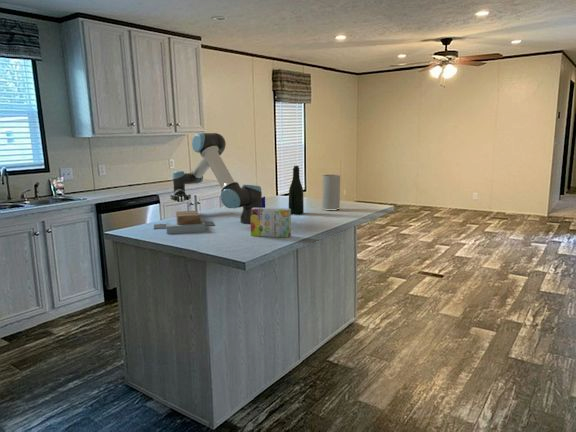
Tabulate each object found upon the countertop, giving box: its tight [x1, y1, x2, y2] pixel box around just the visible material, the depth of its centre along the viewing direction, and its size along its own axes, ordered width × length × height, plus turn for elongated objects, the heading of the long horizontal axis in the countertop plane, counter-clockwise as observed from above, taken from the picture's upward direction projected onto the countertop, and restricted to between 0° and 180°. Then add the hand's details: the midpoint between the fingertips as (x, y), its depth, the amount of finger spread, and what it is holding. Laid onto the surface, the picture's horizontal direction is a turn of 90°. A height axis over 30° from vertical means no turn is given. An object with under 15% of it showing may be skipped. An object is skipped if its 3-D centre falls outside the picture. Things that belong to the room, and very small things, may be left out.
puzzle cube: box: [262, 195, 266, 208], centre depth 315 cm, size 10×10×10 cm
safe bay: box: [165, 219, 206, 235], centre depth 250 cm, size 14×21×4 cm, turn 106°
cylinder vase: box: [321, 174, 341, 209], centre depth 318 cm, size 12×12×25 cm
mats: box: [153, 220, 216, 230], centre depth 263 cm, size 12×35×1 cm, turn 106°
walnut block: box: [175, 210, 201, 225], centre depth 255 cm, size 16×12×9 cm
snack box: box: [250, 207, 292, 239], centre depth 235 cm, size 21×6×15 cm, turn 77°
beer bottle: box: [288, 165, 305, 215], centre depth 301 cm, size 10×10×33 cm
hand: (181, 200), depth 269 cm, fingers closed
